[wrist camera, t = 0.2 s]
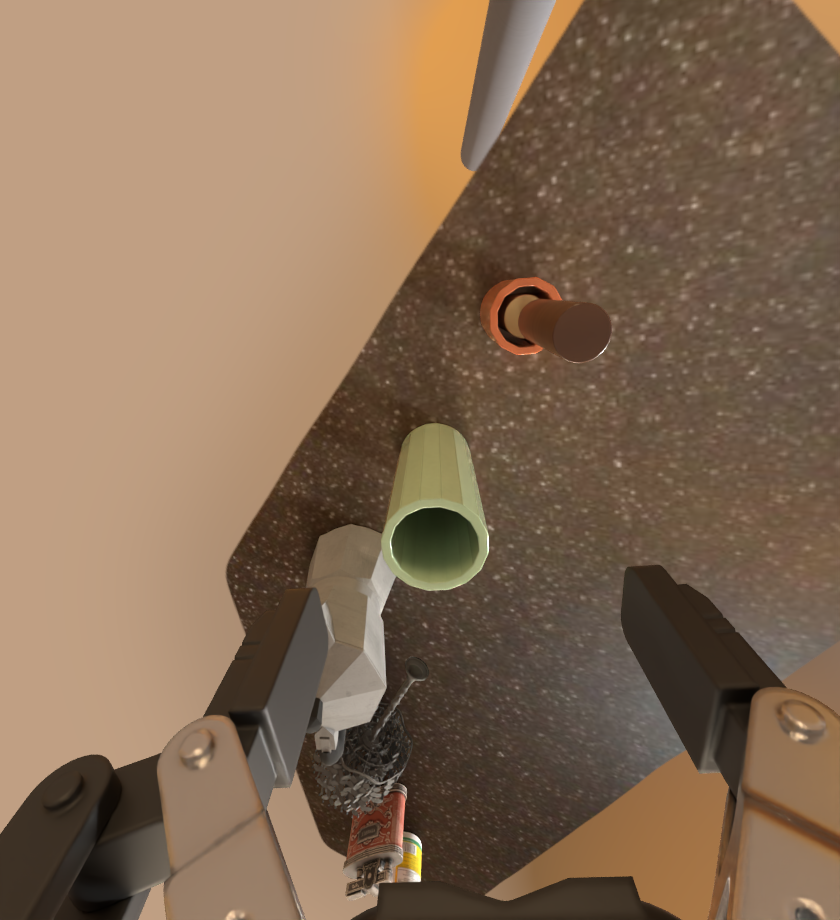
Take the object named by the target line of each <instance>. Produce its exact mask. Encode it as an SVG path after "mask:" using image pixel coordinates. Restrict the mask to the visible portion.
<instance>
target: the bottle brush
mask: <svg viewBox="0 0 840 920" xmlns="http://www.w3.org/2000/svg"><path fill="white" fill-rule="evenodd" d="M497 315H498V327H500V328H501V329H503V330H505V331H506V332H508V333H510V334H511V335H513V336H515V337H518V338H526V339H527V340H529V341H531V342H533V343H535V344H537V345H538V346H540V347H542V348H544V349H546V350H548V351H550V352H551V353H553V354H555V355H557V356H559V357H561V358H563V359H565V360H566V361H569V362H572V363H585V362H588V361H591V360H593V359H595V358H596V357H597V356H599V355H600V354H601V353H602V352H603V351H604V350H605V348H606V347H607V345H608V343H609V341H610V338H611V333H612V325H611V320H610V318H609V316H608V314H607V313H606V311H605V310H604V309H603V308H601V307H600V306H598V305H596V304H592V303H585V302H573V301H561V300H549V299H539V298H537V297H536V296H533V295H528V294H508V295H507V296H505V298H504V300H503V302H502V304H501V306H500V308H499V310H498V312H497Z"/></svg>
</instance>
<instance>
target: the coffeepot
mask: <svg viewBox="0 0 840 920" xmlns="http://www.w3.org/2000/svg"><path fill="white" fill-rule="evenodd" d="M381 536H382V534H381V533H379V532H376V531H374V530H372V529H370V528H366V527H362V526H356V525H353V524H350V525H346V526H343V527H340V528H336V529H334V530H332V531H330V532H328V533H326V534H324V535H321V536H320V537H319V540H318V542H317V545H316V548H315V551H314V554H313V557H312V560H311V563H310V567H309V572H308V578H307V584H306V588H311V587H315V588H316V589H317V590H318V593H319V597H320V601H321V605H322V609H323V614H324V618H325V622H326V626H327V631H328V654H327V658H326V662H325V666H324V669H323V673H322V676H321V680H320V684H319V687H318V691H317V694H316V698H315V701H314V705H313V709H312V712H311V716H310V719H309V723H308V726H307V730H306V732H307V733H314V732H316V733H315V741H316V747H317V750H320V752H319V756H320V760H321V762H322V763H323V764H324V765H326V766H331V765H333V764H335V763H336V762H337V761H338V760H339V758H340V757H341V756H342V754H343V751H344V743H345V733H346V729H347V728H350V727H354V726H357V725H360V724H364V723H367V722H370V721H371V719H372V716H373V714H374V712H375V710H376V708H377V706H378V704H379V702H380V700H381V698H382V696H383V694H384V692H385V690H386V688H387V686H386V667H385V647H384V626H383V620H382V618H381V616H380V615H381V612H382V610H383V607H384V605H385V602H386V600H387V597H388V595H389V592H390V590H391V587H392V585H393V582H394V580H395V577H396V576H395V575H394V574H393V573H392V571H391V570H390V568H389V567H388V565H387V563H386V562H385V560H384V558H383V554H382V547H381Z"/></svg>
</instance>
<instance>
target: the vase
mask: <svg viewBox="0 0 840 920" xmlns="http://www.w3.org/2000/svg"><path fill="white" fill-rule="evenodd" d="M381 547H382V554H383V558H384V560H385V562H386V563H387V565H388V567H389V568H390V570H391V571H392V573H393V574H394V575H395V576H397V577H398V578H400V579H401V580H402V581H404V582H405V583H407V584H408V585H410V586H414V587H417V588H421V589H424V590H448V589H452V588H454V587H456V586H459V585H461V584H464V583H466V582H468V581H469V580H470V579H471V578H472V577H473V576H474V575H475V574H476V573H478V572H479V571H480V570H481V568H482V566H483V564H484V562H485V559H486V557H487V555H488V552H489V543H488V531H487V527H486V522H485V518H484V513H483V509H482V504H481V499H480V495H479V490H478V486H477V481H476V477H475V472H474V468H473V463H472V458H471V454H470V450H469V448H468V445H467V442H466V441H465V439H464V437H463V436H462V435H461V434H460V433H459V432H458V431H457V430H455V429H454V428H452V427H450V426H447V425H444V424H439V423H431V424H425V425H422V426H420V427H418V428H416V429H414V430H413V431H412V432H410V433H409V434H408V435H407V437H406V438H405V440H404V441H403V443H402V446H401V450H400V453H399V457H398V462H397V466H396V471H395V475H394V480H393V485H392V489H391V494H390V499H389V503H388V508H387V513H386V517H385V522H384V527H383V531H382V536H381Z"/></svg>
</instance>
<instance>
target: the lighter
mask: <svg viewBox="0 0 840 920" xmlns="http://www.w3.org/2000/svg"><path fill="white" fill-rule="evenodd" d="M385 786H386V785H385ZM383 787H384V786H381V787H378V788H380V789H381V790H382V789H383ZM381 790H380V791H379V792H376V793H377V794H378V793H380V794H382V792H384V790H385V789H383V790H382V791H381ZM367 793H368V792H366V794H367ZM360 797H361V796H360ZM360 797H359V798H360ZM370 798H371V797H370ZM372 798H375V797H372ZM372 798H371V799H372ZM406 798H407V789H406V787H405V786H404V785H402V784H399V783H394V785H393V787H392V789H390V791H389V794H388V795H386V796H384V799H383V802H382V803H376V804H377V806H376V804H375V803H374V802H373V803H372V801H371V800H370V801H369V802H366V804H367V805H366V804H365V805H366V807H370V805H371V804H372V805H371V807H370V808H373V807H372V806H374V804H375V807H374V808H373V810H371V811H370V812H368V811H363V812H361V811H362V810H361V809H360V807H359V808H358V809H357V808H355V809H354V810H356V809H357V810H356V811H357V812H358V815H359V814H360V815H359V818H357V816H355V815H353V820H352V827H351V833H350V840H349V846H348V852H347V859H346V861H345V863H344V868H343V873H344V874H345V875H346V876H347V877H349V878H352V879H357V880H355V881H353V882H350V883H348V884H347V888H346V894H345V895H346V897H347V899H348V900H349V901H352V900H355V899H358V898H361V897H364V896H365V895H366V894H369V893H370V894H371V895H373V896H374V897H376V896H378V890H379V883H392V879H393V873H392V868H393V867H395V866H397V865H399V864H401V863H402V862H403V850H402V842H403V825H404V808H405V800H406ZM356 799H357V798H356ZM375 799H376V798H375ZM377 799H378V798H377ZM380 799H381V798H380ZM358 801H359V800H358ZM365 812H366V814H364V813H365Z"/></svg>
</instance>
